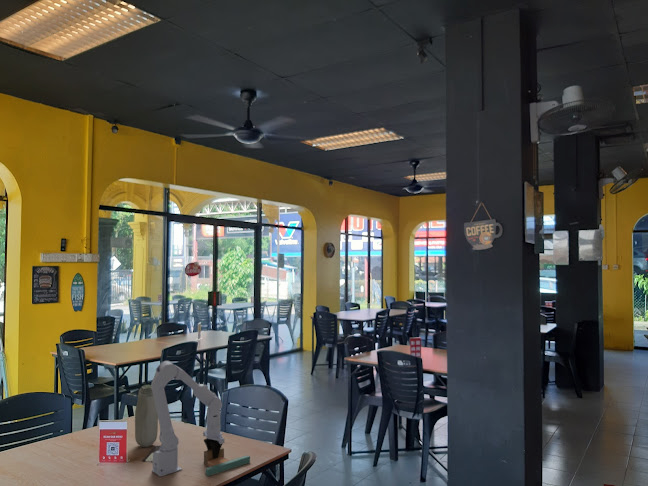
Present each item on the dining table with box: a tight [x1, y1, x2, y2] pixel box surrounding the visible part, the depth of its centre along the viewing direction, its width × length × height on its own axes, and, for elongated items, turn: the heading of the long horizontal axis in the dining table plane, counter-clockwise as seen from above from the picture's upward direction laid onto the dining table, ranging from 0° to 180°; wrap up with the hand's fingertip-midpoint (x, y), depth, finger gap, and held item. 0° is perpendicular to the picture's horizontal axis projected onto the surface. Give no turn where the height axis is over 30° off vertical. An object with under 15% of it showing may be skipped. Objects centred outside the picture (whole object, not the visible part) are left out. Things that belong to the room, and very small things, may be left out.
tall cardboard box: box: [203, 446, 225, 466], centre depth 212 cm, size 8×3×5 cm, turn 133°
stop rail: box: [205, 455, 251, 477], centre depth 205 cm, size 20×2×2 cm, turn 133°
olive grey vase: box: [134, 384, 159, 448], centre depth 232 cm, size 10×10×28 cm
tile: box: [207, 456, 230, 467], centre depth 208 cm, size 7×7×2 cm
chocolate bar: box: [141, 445, 161, 463], centre depth 221 cm, size 9×1×18 cm
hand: (213, 456), depth 212 cm, fingers closed on tall cardboard box, 3 cm apart
